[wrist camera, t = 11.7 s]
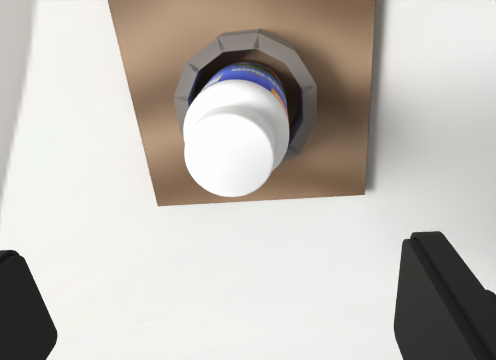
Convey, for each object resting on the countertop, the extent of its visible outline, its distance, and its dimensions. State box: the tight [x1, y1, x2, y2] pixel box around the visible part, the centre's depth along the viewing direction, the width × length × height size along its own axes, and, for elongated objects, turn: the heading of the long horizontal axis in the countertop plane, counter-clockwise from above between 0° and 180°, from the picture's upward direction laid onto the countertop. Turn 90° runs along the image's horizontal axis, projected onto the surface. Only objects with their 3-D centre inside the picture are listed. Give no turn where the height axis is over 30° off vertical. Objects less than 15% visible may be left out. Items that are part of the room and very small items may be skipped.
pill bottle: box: [183, 61, 289, 197], centre depth 20 cm, size 5×5×10 cm
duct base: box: [108, 0, 376, 206], centre depth 23 cm, size 16×16×4 cm
